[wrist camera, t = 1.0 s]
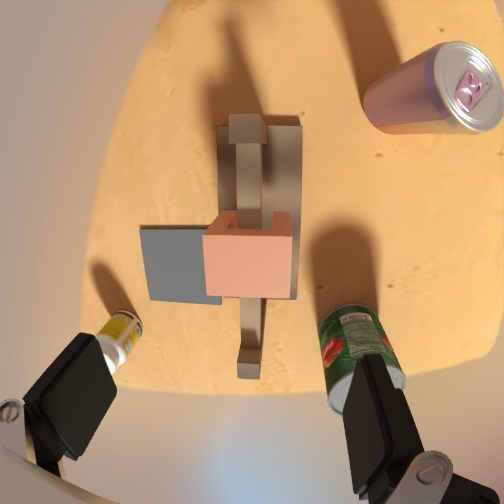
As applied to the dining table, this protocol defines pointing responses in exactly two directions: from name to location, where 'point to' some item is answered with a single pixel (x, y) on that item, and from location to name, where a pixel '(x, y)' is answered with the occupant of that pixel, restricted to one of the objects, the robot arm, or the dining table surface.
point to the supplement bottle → (119, 338)
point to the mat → (175, 265)
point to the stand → (259, 205)
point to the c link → (248, 258)
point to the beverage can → (437, 93)
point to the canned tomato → (352, 349)
